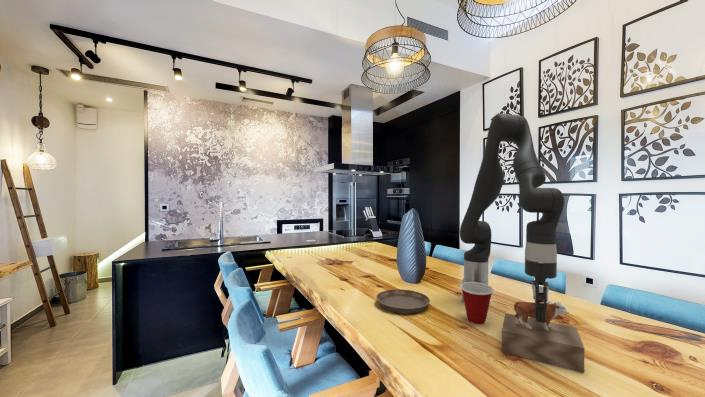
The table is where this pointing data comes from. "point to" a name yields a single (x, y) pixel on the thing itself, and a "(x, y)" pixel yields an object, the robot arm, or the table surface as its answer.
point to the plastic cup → (476, 301)
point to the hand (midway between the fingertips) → (539, 316)
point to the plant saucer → (403, 301)
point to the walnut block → (544, 343)
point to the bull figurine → (529, 310)
